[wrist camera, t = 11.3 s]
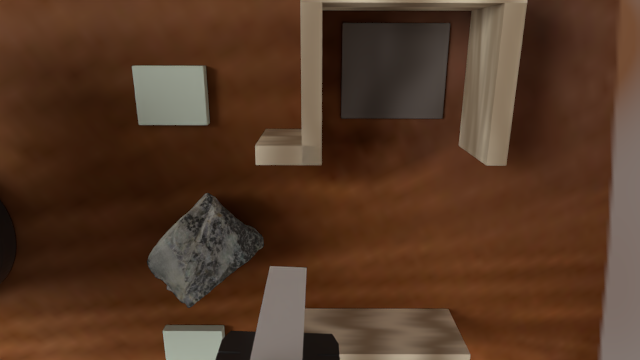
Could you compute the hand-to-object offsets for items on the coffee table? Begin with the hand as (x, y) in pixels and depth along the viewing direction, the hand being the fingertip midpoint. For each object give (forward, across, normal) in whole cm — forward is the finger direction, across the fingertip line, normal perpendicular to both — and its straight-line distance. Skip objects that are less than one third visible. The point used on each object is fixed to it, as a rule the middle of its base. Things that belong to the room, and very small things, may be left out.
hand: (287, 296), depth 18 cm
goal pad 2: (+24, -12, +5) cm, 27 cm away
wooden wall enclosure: (+23, +6, -1) cm, 24 cm away
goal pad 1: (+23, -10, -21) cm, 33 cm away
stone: (+24, -8, -8) cm, 26 cm away
